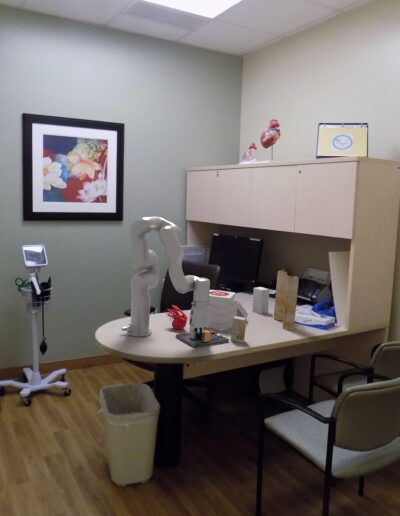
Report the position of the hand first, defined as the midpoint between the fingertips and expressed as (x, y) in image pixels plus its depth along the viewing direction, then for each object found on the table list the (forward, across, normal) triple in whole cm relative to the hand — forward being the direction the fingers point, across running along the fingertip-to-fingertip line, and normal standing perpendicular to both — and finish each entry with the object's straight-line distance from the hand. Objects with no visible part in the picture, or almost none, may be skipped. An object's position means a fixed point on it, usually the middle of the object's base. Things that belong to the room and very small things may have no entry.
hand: (198, 340), depth 231 cm
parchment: (+3, +66, +10) cm, 67 cm away
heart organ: (+3, +4, +26) cm, 27 cm away
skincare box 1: (+3, +22, -3) cm, 23 cm away
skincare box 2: (+3, +70, +35) cm, 78 cm away
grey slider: (+1, +1, +6) cm, 6 cm away
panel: (+3, +6, +6) cm, 9 cm away
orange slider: (+1, +4, 0) cm, 4 cm away
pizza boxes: (+3, +34, +26) cm, 43 cm away
